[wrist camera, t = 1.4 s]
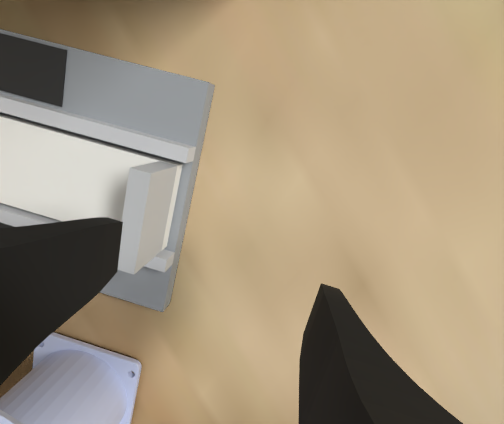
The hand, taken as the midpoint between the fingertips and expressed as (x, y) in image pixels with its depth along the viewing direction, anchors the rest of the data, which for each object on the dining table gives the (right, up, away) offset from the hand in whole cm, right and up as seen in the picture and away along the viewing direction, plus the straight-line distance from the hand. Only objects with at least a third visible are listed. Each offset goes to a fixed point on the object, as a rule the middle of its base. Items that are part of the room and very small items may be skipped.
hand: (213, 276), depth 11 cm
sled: (-13, +6, +8) cm, 17 cm away
